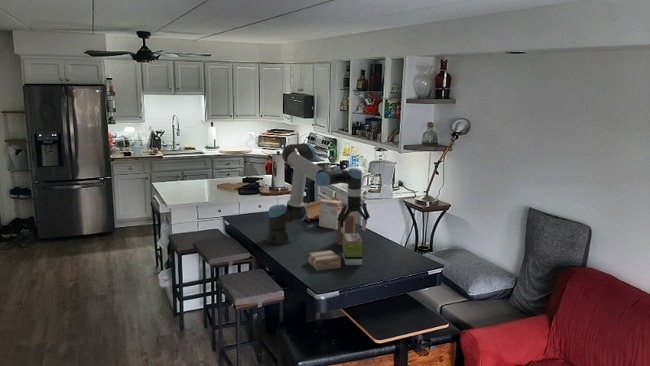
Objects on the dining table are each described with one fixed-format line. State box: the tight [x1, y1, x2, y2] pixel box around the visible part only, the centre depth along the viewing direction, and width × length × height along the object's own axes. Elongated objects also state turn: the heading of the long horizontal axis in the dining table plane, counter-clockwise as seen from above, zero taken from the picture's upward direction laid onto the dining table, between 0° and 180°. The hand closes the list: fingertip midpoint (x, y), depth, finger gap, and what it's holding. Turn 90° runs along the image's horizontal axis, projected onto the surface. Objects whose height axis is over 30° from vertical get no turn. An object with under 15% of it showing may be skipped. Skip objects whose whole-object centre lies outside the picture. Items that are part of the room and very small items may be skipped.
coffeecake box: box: [318, 198, 343, 231], centre depth 362 cm, size 15×7×20 cm, turn 58°
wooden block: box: [336, 211, 357, 246], centre depth 325 cm, size 10×10×20 cm
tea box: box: [342, 232, 364, 266], centre depth 294 cm, size 15×10×15 cm, turn 5°
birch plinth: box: [308, 249, 342, 271], centre depth 287 cm, size 14×14×6 cm
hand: (353, 231), depth 292 cm, fingers open, 13 cm apart
